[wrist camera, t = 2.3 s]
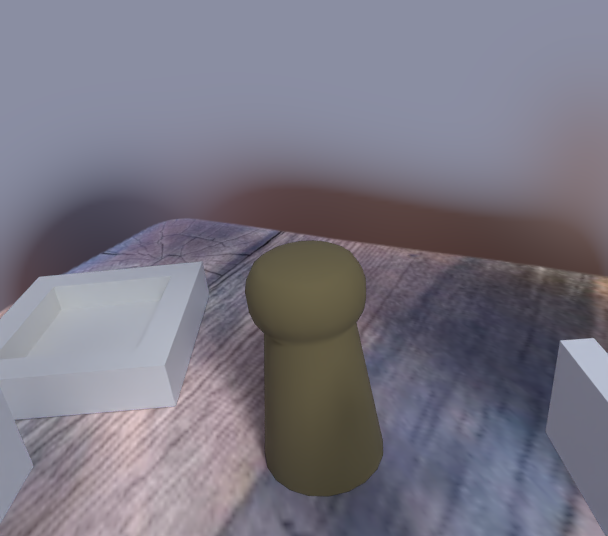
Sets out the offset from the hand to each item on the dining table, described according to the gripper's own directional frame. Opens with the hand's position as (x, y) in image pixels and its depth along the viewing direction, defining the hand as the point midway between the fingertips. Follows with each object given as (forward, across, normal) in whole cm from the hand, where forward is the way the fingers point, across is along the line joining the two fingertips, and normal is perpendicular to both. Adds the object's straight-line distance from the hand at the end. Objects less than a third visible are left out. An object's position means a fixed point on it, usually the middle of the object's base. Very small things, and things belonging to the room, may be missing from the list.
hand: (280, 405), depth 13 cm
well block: (+21, -14, -12) cm, 28 cm away
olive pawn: (+10, +1, -12) cm, 16 cm away
